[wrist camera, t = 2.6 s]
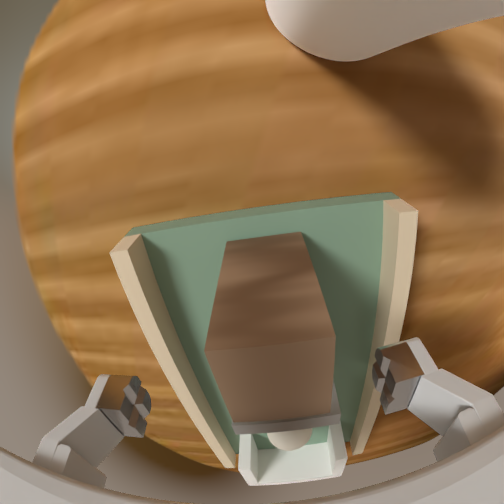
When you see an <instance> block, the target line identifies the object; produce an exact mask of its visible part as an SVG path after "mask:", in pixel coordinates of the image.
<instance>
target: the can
mask: <svg viewBox="0 0 504 504" xmlns="http://www.w3.org/2000/svg"><path fill="white" fill-rule="evenodd" d="M265 1H266V7H267V11H268V14H269V16H270V18H271V20H272V22H273V23H274V25H275V26H276V28H277V29H278V30H279V31H280V32H281V33H282V34H283V35H284V36H285V37H286V38H287V39H288V40H289V41H290V42H292V43H293V44H294V45H296V46H297V47H299V48H301V49H302V50H304V51H306V52H308V53H310V54H313V55H315V56H318V57H321V58H324V59H328V60H334V61H345V62H349V61H358V60H363V59H367V58H370V57H372V56H375V55H377V54H380V53H383V52H385V51H388V50H390V49H393V48H395V47H398V46H401V45H403V44H406V43H409V42H411V41H414V40H417V39H420V38H423V37H426V36H429V35H432V34H435V33H438V32H441V31H444V30H448V29H451V28H454V27H458V26H462V25H465V24H469V23H473V22H477V21H481V20H485V19H490V18H494V17H499V16H504V0H265Z"/></svg>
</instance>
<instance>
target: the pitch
mask: <svg viewBox="0 0 504 504" xmlns="http://www.w3.org/2000/svg"><path fill="white" fill-rule="evenodd" d="M417 221H418V210H416V209H415V208H414V207H412V206H411V205H409V204H408V203H406V202H405V201H404V200H402V199H401V198H399V197H398V196H396V195H395V194H393V193H392V192H386V193H375V194H365V195H355V196H345V197H336V198H327V199H318V200H309V201H301V202H293V203H285V204H278V205H270V206H263V207H256V208H249V209H242V210H235V211H228V212H222V213H215V214H209V215H203V216H197V217H191V218H185V219H179V220H173V221H167V222H162V223H156V224H151V225H145V226H140V227H135V228H132V229H131V230H130V231H129V232H128V233H127V234H126V235H125V237H124V238H123V239H122V240H121V241H120V242H119V243H118V244H117V245H116V246H115V247H114V248H113V249H112V251H111V252H110V255H111V258H112V260H113V263H114V266H115V268H116V271H117V273H118V276H119V278H120V281H121V283H122V286H123V288H124V291H125V293H126V295H127V298H128V300H129V302H130V304H131V307H132V309H133V311H134V313H135V316H136V318H137V320H138V322H139V324H140V326H141V328H142V331H143V333H144V335H145V337H146V339H147V341H148V343H149V345H150V347H151V349H152V351H153V353H154V355H155V356H156V358H157V360H158V362H159V364H160V366H161V368H162V370H163V371H164V373H165V375H166V377H167V379H168V380H169V382H170V384H171V386H172V387H173V389H174V391H175V393H176V394H177V396H178V398H179V399H180V401H181V403H182V404H183V406H184V408H185V409H186V411H187V413H188V414H189V416H190V417H191V419H192V420H193V422H194V424H195V425H196V427H197V428H198V430H199V431H200V433H201V434H202V436H203V437H204V439H205V440H206V442H207V443H208V445H209V446H210V447H211V449H212V450H213V452H214V453H215V454H216V456H217V457H218V459H219V460H220V461H221V463H222V464H223V465H224V467H225V468H235V457H236V454H239V443H240V435H236V434H235V432H234V430H233V428H232V418H231V416H230V414H229V411H228V409H227V407H226V404H225V402H224V400H223V397H222V395H221V392H220V390H219V388H218V385H217V383H216V380H215V378H214V375H213V373H212V370H211V368H210V365H209V363H208V360H207V358H206V355H205V352H204V348H205V343H206V338H207V333H208V328H209V323H210V318H211V313H212V308H213V303H214V298H215V293H216V289H217V284H218V279H219V274H220V270H221V265H222V260H223V256H224V251H225V246H226V242H227V241H234V240H241V239H248V238H256V237H263V236H270V235H278V234H285V233H293V232H301V233H302V236H303V239H304V242H305V244H306V247H307V250H308V253H309V256H310V259H311V262H312V264H313V267H314V270H315V273H316V276H317V279H318V282H319V285H320V288H321V291H322V294H323V297H324V301H325V304H326V307H327V310H328V313H329V316H330V319H331V323H332V326H333V329H334V332H335V336H336V341H335V360H334V375H333V380H334V384H335V389H336V393H337V397H338V402H339V406H340V411H341V417H340V422H341V427H342V432H343V437H344V442H349V441H350V444H351V449H352V454H353V455H356V454H360V453H362V452H363V450H364V447H365V445H366V443H367V440H368V438H369V435H370V433H371V430H372V427H373V425H374V422H375V419H376V417H377V414H378V411H379V408H380V405H381V402H380V397H381V393H380V392H379V391H377V390H376V389H375V386H374V383H373V379H372V368H373V364H374V363H375V362H376V361H377V360H376V358H375V351H376V349H377V348H379V347H382V346H386V345H390V344H393V343H397V342H399V339H400V335H401V331H402V326H403V322H404V317H405V312H406V307H407V301H408V295H409V290H410V283H411V277H412V270H413V262H414V254H415V244H416V234H417ZM328 430H329V425H328V426H322V427H316V428H312V435H311V437H310V439H309V441H308V442H307V443H306V444H305V445H311V444H318V443H324V442H327V438H328ZM252 435H253V438H254V441H255V443H256V446H257V448H258V450H260V449H275V448H277V447H275V446H274V445H273V444H272V443H271V442H270V440H269V438H268V435H267V433H260V434H252Z"/></svg>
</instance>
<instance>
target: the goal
mask: <svg viewBox="0 0 504 504" xmlns="http://www.w3.org/2000/svg"><path fill="white" fill-rule="evenodd" d="M346 461H347V452H346V447H345V442H344V437H343V432H342V427H341V422H340V423H339V424H334V425H329V430H328V438H327V442H324V443H318V444H311V445H304V446H303V447H301V448H299V449H296V450H292V451H286V450H281V449H279V448H275V449H260V450H258V448H257V446H256V443H255V441H254V438H253V435H252V434H240V443H239V465H238V470H239V472H240V473H241V475H242V476H243V477H244V479H245V480H246V482H247V483H248V485H249V486H250V485H251V486H254V485H275V484H287V483H297V482H305V481H313V480H320V479H327V478H332V477H337V476H341V475H342V472H343V470H344V467H345V464H346Z"/></svg>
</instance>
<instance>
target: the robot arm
mask: <svg viewBox="0 0 504 504" xmlns="http://www.w3.org/2000/svg"><path fill="white" fill-rule="evenodd" d="M375 358H376V360H377V361H376V362H375V363H374V364H373V368H372V379H373V383H374V386H375V389H376V390H377V391H379V392H380V393H381V397H380V402H381V405H382V407H383V410H384V413H385V414H389V413H393V412H396V411H400V410H403V409H406V408H408V410H409V411H410V412H412V413H413V414H414V415H416V416H417V417H418V418H419V419H421V420H422V421H423V422H425V423H426V424H427V425H429V426H430V427H431V428H432V429H434V430H435V431H436V432H438V433H439V434H440V435H442V436H443V437H442V438H441V439H440V441H439V442H438V443H437V445H436V446H435V448H434V449H433V451H434V454H435V457H436V460H437V462H436V463H434V464H431V465H429V466H426V467H424V468H422V469H419V470H417V471H414V472H411V473H409V474H406V475H403V476H401V477H398V478H395V479H392V480H388V481H385V482H382V483H379V484H375V485H372V486H368V487H365V488H361V489H357V490H353V491H349V492H345V493H340V494H335V495H330V496H325V497H320V498H313V499H307V500H299V501H292V502H283V503H272V504H504V413H503V411H502V410H501V408H500V406H499V404H498V403H497V401H496V399H495V398H494V396H493V394H491V393H489V392H487V391H485V390H483V389H481V388H479V387H477V386H475V385H473V384H471V383H469V382H467V381H465V380H463V379H461V378H460V377H458V376H456V375H454V374H452V373H450V372H448V371H446V370H444V369H438V368H437V366H436V364H435V363H434V361H433V360H432V358H431V356H430V355H429V353H428V351H427V350H426V348H425V347H424V345H423V343H422V342H421V340H420V339H419V338H418V337H415V338H412V339H408V340H405V341H401V342H397V343H393V344H390V345H386V346H382V347H379V348H377V349H376V351H375ZM140 385H141V381H140V380H139V378H138V377H137V376H124V375H107V374H101V375H99V376H98V378H97V380H96V382H95V384H94V386H93V389H92V391H91V393H90V395H89V398H88V400H87V402H86V405H85V407H83V406H82V407H80V408H79V409H78V410H76V411H75V412H74V413H73V414H71V415H70V416H69V417H68V418H66V419H65V420H64V421H63V422H61V423H60V424H59V425H57V426H56V427H55V428H54V429H52V430H51V431H50V432H49V433H47V434H46V435H45V436H44V437H43V438H42V440H41V443H40V445H39V448H38V450H37V452H36V455H35V457H34V460H33V462H30V461H27V460H25V459H23V458H21V457H19V456H17V455H15V454H13V453H11V452H9V451H7V450H6V449H4V448H2V447H0V504H194V503H182V502H174V501H166V500H158V499H152V498H146V497H141V496H135V495H131V494H125V493H121V492H117V491H113V490H108V489H105V488H104V486H105V482H106V476H105V474H103V473H102V472H101V471H99V470H98V469H97V467H98V466H99V465H100V463H101V462H102V461H103V460H104V459H105V458H106V457H107V456H108V454H109V453H110V452H111V451H112V450H113V449H114V448H115V447H116V445H117V444H118V443H119V442H120V441H121V440H122V439H123V438H124V436H131V437H144V433H145V429H146V425H147V422H146V420H145V417H146V416H147V415H148V414H149V413H150V410H151V398H150V395H149V393H148V392H147V390H146V389H144V388H143V387H141V386H140ZM270 504H271V503H270Z"/></svg>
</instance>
